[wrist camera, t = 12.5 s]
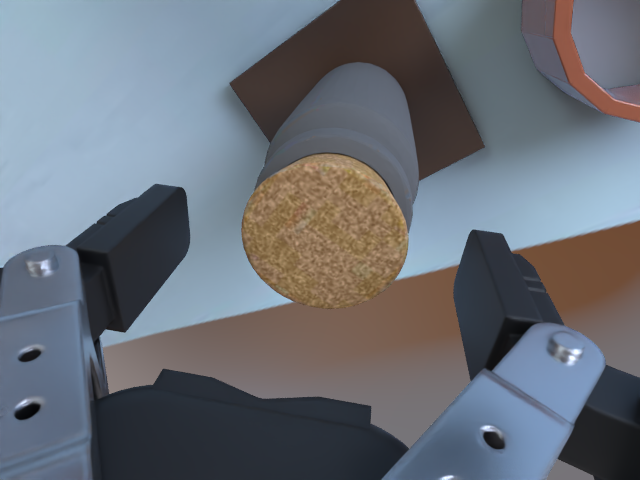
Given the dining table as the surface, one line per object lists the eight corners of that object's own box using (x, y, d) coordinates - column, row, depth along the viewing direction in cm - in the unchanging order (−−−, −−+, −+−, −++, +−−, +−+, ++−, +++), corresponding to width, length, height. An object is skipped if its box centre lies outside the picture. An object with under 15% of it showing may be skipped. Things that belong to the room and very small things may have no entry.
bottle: (343, 179, 26) (301, 348, 14) (289, 100, 24) (179, 212, 12) (426, 129, 24) (469, 277, 11) (374, 37, 22) (353, 91, 9)
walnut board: (234, 80, 25) (228, 83, 24) (395, -40, 21) (395, -41, 20) (330, 220, 29) (328, 227, 28) (482, 142, 25) (485, 147, 24)
